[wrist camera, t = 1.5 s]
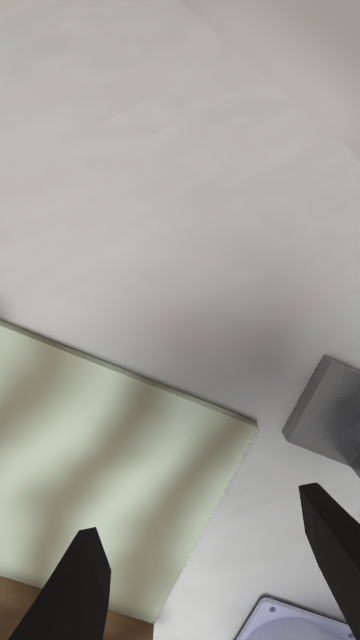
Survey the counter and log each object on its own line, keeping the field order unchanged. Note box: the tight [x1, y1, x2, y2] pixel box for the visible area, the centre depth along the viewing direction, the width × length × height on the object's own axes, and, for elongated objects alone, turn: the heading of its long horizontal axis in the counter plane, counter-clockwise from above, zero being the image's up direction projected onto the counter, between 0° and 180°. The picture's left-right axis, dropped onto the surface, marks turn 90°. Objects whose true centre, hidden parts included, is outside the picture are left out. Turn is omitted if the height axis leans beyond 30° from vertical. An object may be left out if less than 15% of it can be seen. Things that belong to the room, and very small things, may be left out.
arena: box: [0, 320, 259, 640], centre depth 20 cm, size 19×19×5 cm
